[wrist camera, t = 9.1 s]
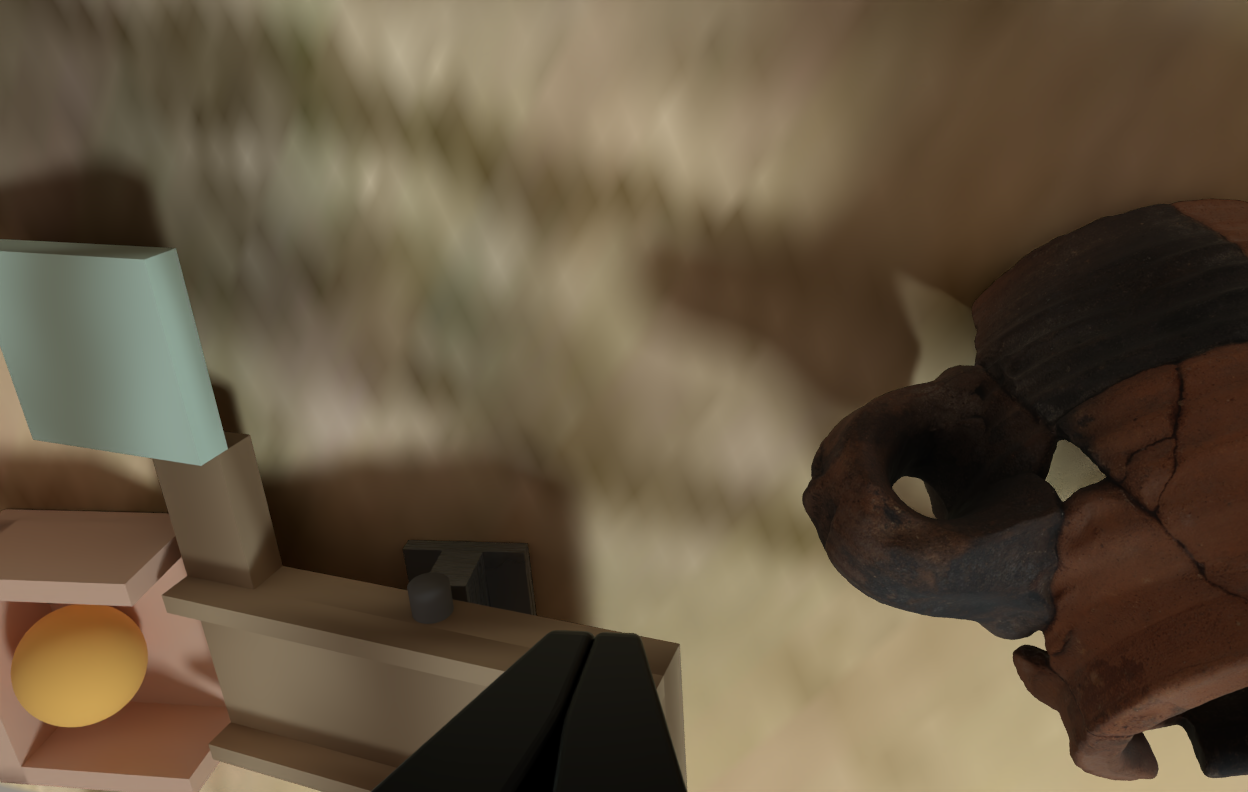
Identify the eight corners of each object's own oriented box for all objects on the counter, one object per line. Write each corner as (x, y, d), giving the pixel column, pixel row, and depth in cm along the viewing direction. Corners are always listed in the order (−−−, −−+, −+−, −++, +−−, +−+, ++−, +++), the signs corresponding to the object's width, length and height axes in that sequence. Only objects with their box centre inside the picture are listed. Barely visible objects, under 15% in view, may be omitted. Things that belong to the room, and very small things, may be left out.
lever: (660, 260, 16) (611, 302, 14) (690, 847, 22) (657, 931, 20) (28, 231, 22) (-66, 258, 20) (182, 707, 27) (119, 764, 25)
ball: (16, 642, 22) (30, 576, 24) (-8, 753, 23) (8, 677, 25) (160, 650, 23) (158, 586, 26) (133, 753, 24) (135, 681, 27)
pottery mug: (1449, 151, 17) (1856, 559, 12) (1186, 454, 25) (1372, 786, 20) (794, 172, 16) (946, 633, 11) (724, 483, 24) (796, 845, 18)
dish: (197, 514, 24) (124, 584, 22) (254, 712, 27) (195, 797, 24) (4, 509, 25) (-90, 576, 22) (77, 701, 28) (0, 782, 25)
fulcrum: (527, 543, 23) (508, 587, 22) (548, 712, 25) (532, 764, 24) (408, 540, 24) (380, 583, 22) (439, 705, 26) (415, 756, 24)
